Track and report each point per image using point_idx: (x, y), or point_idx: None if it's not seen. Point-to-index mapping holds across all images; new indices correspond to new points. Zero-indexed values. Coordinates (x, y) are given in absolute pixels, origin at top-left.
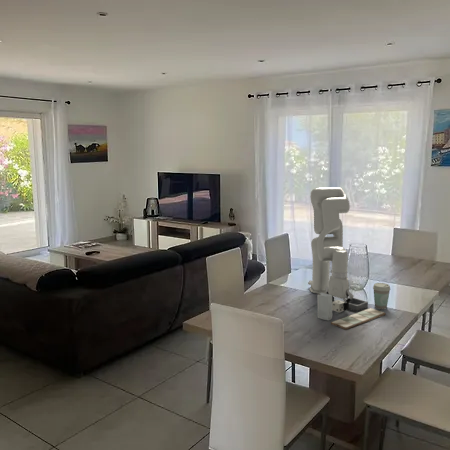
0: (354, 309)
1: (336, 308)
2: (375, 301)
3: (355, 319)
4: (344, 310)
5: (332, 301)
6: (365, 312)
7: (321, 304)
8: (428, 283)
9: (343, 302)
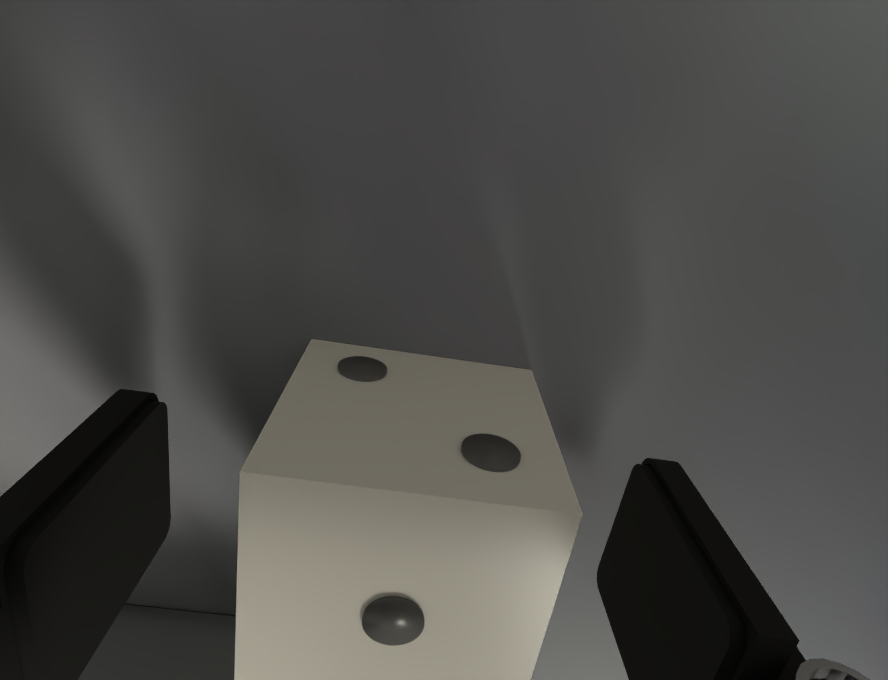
0: (134, 631)
1: (390, 389)
2: None
3: None
4: (130, 391)
5: (643, 609)
6: None
7: None
8: None
9: (249, 665)
